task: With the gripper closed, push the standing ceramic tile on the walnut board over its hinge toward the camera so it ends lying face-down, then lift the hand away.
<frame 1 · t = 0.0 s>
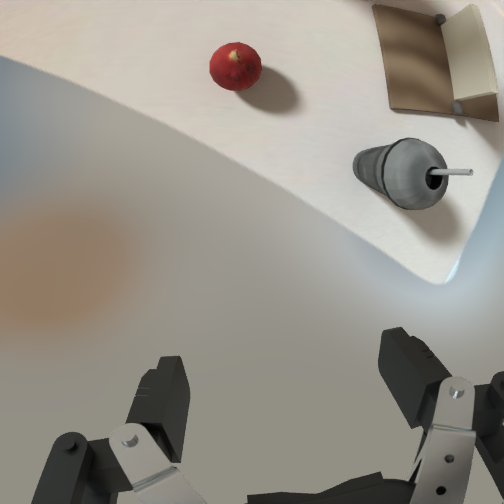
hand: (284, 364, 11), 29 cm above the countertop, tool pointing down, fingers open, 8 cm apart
tile: (467, 54, 26), point 7 cm above the countertop, hinge at 80.0°
beverage cup: (367, 166, 38), on the countertop
walnut board: (443, 64, 33), on the countertop
onion: (235, 74, 34), on the countertop
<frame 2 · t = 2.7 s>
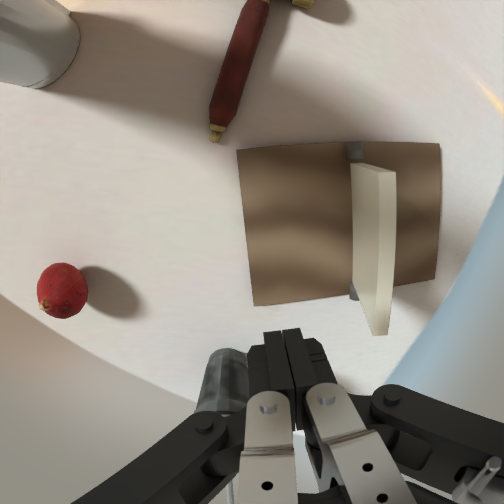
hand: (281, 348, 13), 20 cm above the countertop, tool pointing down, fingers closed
gavel: (244, 47, 26), on the countertop
tile: (371, 239, 24), point 7 cm above the countertop, hinge at 80.0°
beverage cup: (227, 361, 36), on the countertop
walnut board: (351, 219, 31), on the countertop
onion: (77, 276, 32), on the countertop
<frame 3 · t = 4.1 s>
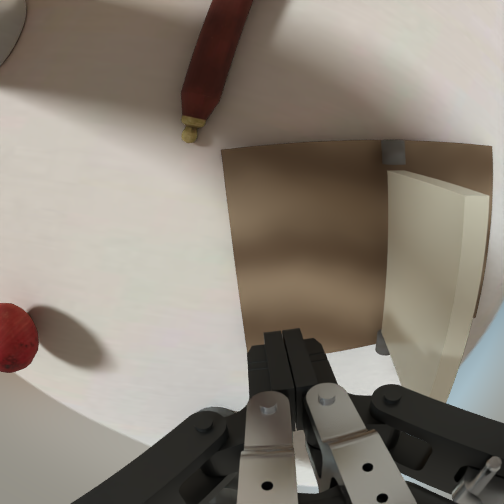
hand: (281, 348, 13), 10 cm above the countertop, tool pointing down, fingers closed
gavel: (233, 11, 17), on the countertop
tile: (421, 289, 15), point 7 cm above the countertop, hinge at 80.0°
beverage cup: (216, 420, 27), on the countertop
walnut board: (382, 248, 22), on the countertop
onion: (29, 316, 23), on the countertop
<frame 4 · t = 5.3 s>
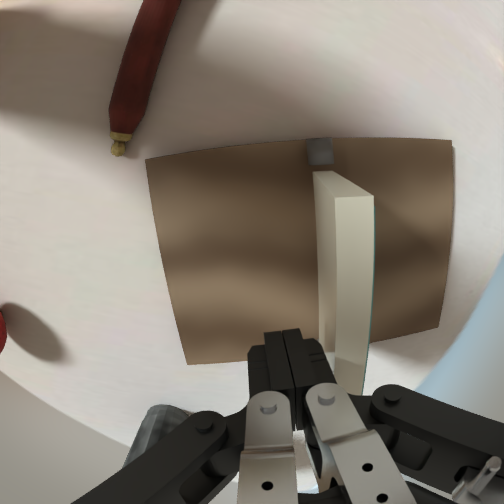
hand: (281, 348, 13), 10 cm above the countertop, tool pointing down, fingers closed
gavel: (163, 23, 17), on the countertop
tile: (337, 299, 15), point 7 cm above the countertop, hinge at 81.3°, touching gripper
beverage cup: (168, 417, 27), on the countertop
walnut board: (319, 252, 22), on the countertop
onion: (1, 312, 24), on the countertop
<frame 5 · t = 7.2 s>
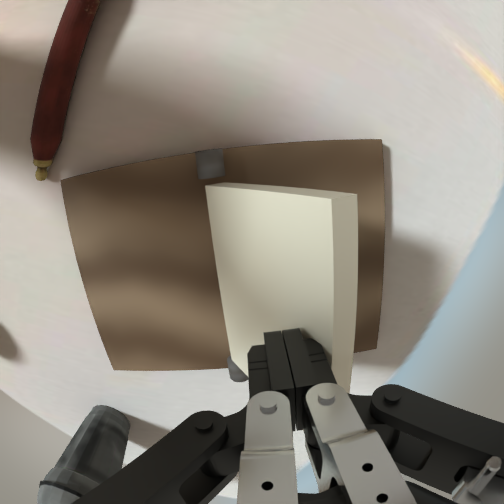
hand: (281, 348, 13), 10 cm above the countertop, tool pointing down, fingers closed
gavel: (80, 49, 17), on the countertop
tile: (273, 309, 15), point 7 cm above the countertop, hinge at 119.5°, touching gripper
beverage cup: (110, 418, 27), on the countertop
walnut board: (227, 267, 22), on the countertop
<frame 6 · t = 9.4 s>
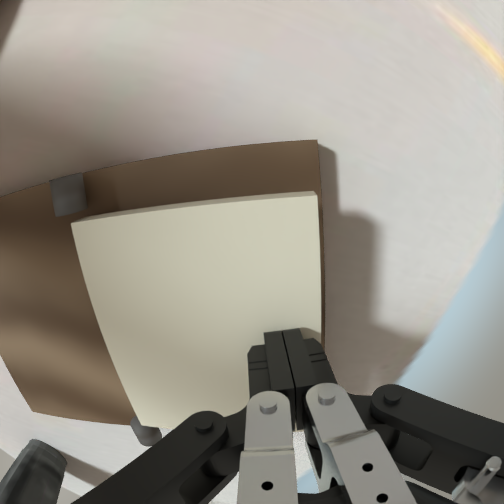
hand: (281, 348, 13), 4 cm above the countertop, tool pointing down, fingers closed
tile: (206, 338, 14), point 3 cm above the countertop, hinge at 173.5°, touching gripper
beverage cup: (48, 452, 21), on the countertop
walnut board: (118, 318, 16), on the countertop
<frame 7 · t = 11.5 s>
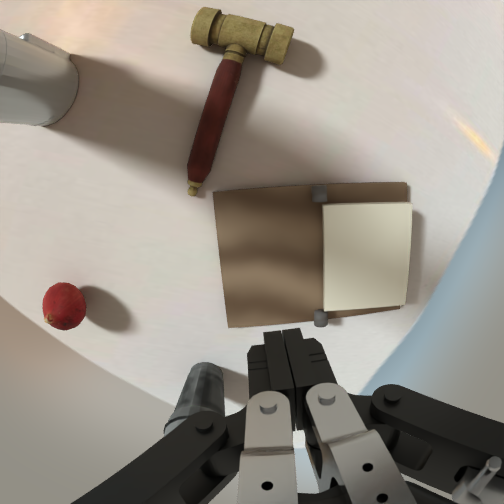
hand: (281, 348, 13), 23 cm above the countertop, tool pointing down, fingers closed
gavel: (220, 105, 31), on the countertop
tile: (367, 257, 33), point 3 cm above the countertop, hinge at 173.6°
beverage cup: (206, 374, 40), on the countertop
walnut board: (317, 254, 35), on the countertop
onion: (77, 293, 37), on the countertop
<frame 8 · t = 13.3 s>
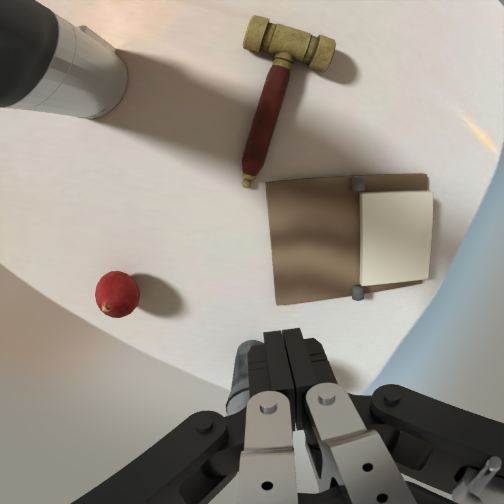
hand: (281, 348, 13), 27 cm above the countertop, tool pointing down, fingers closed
gavel: (268, 106, 35), on the countertop
tile: (397, 237, 37), point 3 cm above the countertop, hinge at 173.6°
beverage cup: (252, 351, 45), on the countertop
walnut board: (353, 236, 40), on the countertop
onion: (126, 282, 40), on the countertop
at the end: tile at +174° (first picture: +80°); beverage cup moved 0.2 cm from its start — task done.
